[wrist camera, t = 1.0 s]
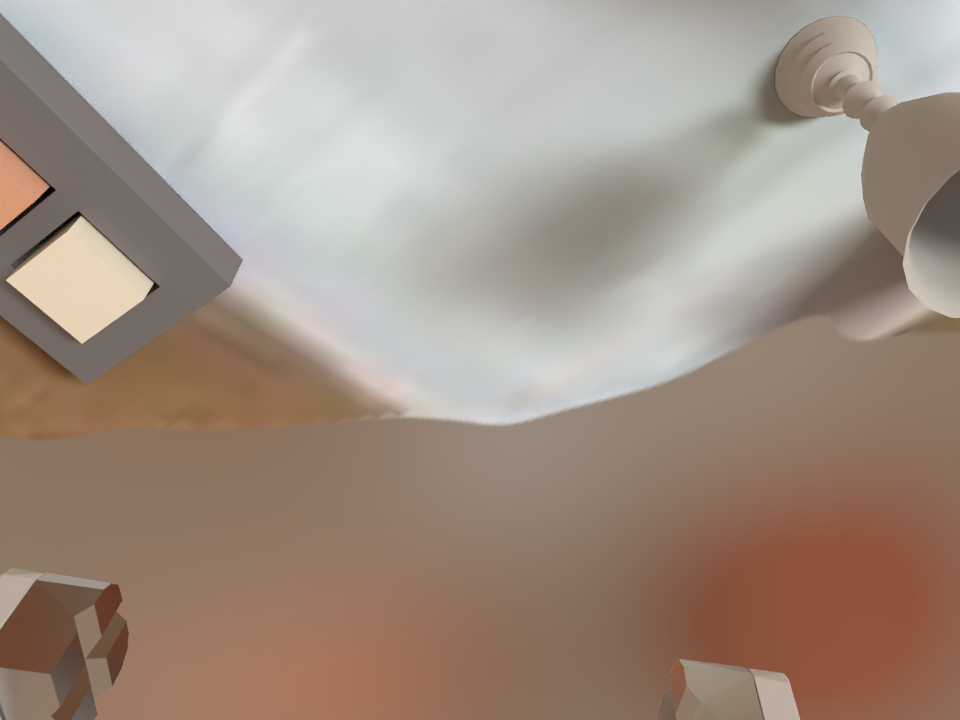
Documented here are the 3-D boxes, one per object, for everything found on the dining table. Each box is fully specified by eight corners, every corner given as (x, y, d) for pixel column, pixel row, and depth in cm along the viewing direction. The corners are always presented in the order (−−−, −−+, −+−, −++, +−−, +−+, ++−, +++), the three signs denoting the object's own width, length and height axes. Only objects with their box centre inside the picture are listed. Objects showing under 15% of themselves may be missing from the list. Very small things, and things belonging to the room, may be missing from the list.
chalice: (788, 161, 44) (942, 352, 30) (729, 59, 41) (870, 218, 27) (920, 77, 42) (1160, 242, 27) (868, -38, 39) (1109, 78, 24)
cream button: (30, 252, 46) (5, 280, 43) (90, 205, 44) (67, 231, 42) (101, 314, 48) (82, 343, 46) (160, 272, 46) (143, 299, 44)
